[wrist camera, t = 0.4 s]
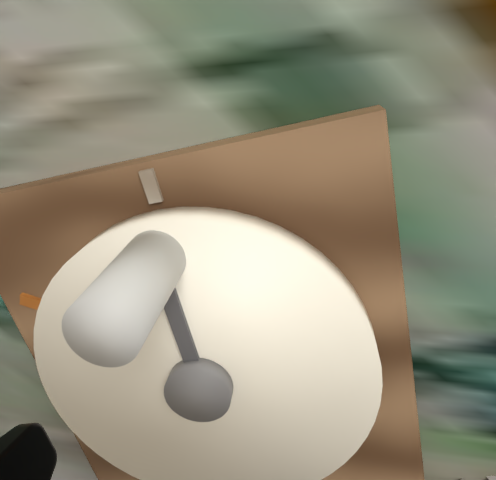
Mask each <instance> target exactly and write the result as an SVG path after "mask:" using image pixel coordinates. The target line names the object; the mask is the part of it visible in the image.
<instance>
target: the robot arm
mask: <svg viewBox="0 0 496 480" xmlns="http://www.w3.org/2000/svg"><path fill="white" fill-rule="evenodd" d="M56 461H57V453H56V450H55V448H54V446H53V444H52V442H51V441H50V439H49V437H48V435H47V433H46V432H45V430H44V428H43V427H42V425H40V424H39V423H28V424H21V425H18V426H16V427H14V428H13V429H11V430H10V431H9V432H7V433H6V434H4V435H3V436H2V437H0V480H51V477H52V474H53V471H54V468H55V465H56Z"/></svg>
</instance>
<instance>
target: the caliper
mask: <svg viewBox="0 0 496 480" xmlns="http://www.w3.org/2000/svg"><path fill="white" fill-rule="evenodd" d="M486 477H487V480H496V476H486ZM461 480H463V479H461Z"/></svg>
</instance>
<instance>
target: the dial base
mask: <svg viewBox="0 0 496 480" xmlns="http://www.w3.org/2000/svg"><path fill="white" fill-rule="evenodd" d="M175 207H212V208H219V209H227V210H233V211H237V212H240V213H244V214H248V215H252V216H256V217H258V218H261V219H263V220H266V221H268V222H271V223H274V224H276V225H279V226H281V227H283V228H284V229H286V230H288V231H290V232H292V233H294V234H295V235H297V236H299V237H301V238H302V239H304V240H305V241H307V242H308V243H309V244H311V245H312V246H314V247H315V248H316V249H318V250H319V251H320V252H322V253H323V254H324V255H325V256H326V257H327V258H328V259H329V260H330V261H331V262H332V263H333V264H334V265H336V266H337V267H338V268H339V269H340V271H341V272H342V273H343V274H344V276H345V277H346V278H347V279H348V281H349V282H350V283H351V284H352V286H353V287H354V289H355V291H356V292H357V294H358V296H359V297H360V299H361V301H362V302H363V304H364V306H365V309H366V311H367V314H368V316H369V319H370V321H371V324H372V328H373V332H374V336H375V340H376V344H377V348H378V353H379V357H380V361H381V366H382V383H383V387H382V395H381V403H380V407H379V410H378V414H377V417H376V420H375V423H374V425H373V427H372V429H371V431H370V433H369V435H368V437H367V438H366V440H365V441H364V442H363V444H362V445H361V446H360V448H359V449H358V450H357V452H356V453H355V454H354V455H353V456H352V457H351V458H350V459H349V460H348V461H347V462H346V463H345V464H344V465H342V466H341V467H340V468H338V469H337V470H336V471H334V472H333V473H332V474H330V475H329V476H327V477H325V478H323V479H322V480H424V471H423V461H422V452H421V442H420V433H419V423H418V414H417V404H416V394H415V385H414V375H413V366H412V356H411V347H410V337H409V328H408V318H407V309H406V299H405V289H404V280H403V270H402V261H401V251H400V242H399V232H398V223H397V213H396V204H395V194H394V185H393V175H392V165H391V156H390V146H389V137H388V127H387V118H386V109H384V108H383V107H381V106H380V105H376V106H372V107H367V108H363V109H358V110H354V111H349V112H345V113H340V114H336V115H331V116H327V117H322V118H318V119H313V120H308V121H304V122H299V123H295V124H290V125H286V126H281V127H277V128H272V129H268V130H263V131H259V132H254V133H250V134H245V135H241V136H236V137H232V138H227V139H223V140H218V141H214V142H209V143H205V144H200V145H196V146H191V147H186V148H182V149H177V150H173V151H168V152H164V153H159V154H155V155H150V156H146V157H141V158H137V159H132V160H128V161H123V162H119V163H114V164H110V165H105V166H101V167H96V168H92V169H87V170H83V171H78V172H74V173H69V174H65V175H60V176H55V177H51V178H46V179H42V180H37V181H33V182H28V183H24V184H19V185H15V186H10V187H6V188H1V189H0V295H1V297H2V299H3V300H4V302H5V304H6V306H7V308H8V310H9V312H10V314H11V316H12V317H13V319H14V321H15V323H16V325H17V327H18V329H19V331H20V333H21V334H22V336H23V338H24V340H25V342H26V344H27V346H28V348H29V350H30V352H31V353H32V355H33V357H34V359H35V354H34V325H35V319H36V313H37V310H38V307H39V304H40V301H41V299H42V296H43V294H44V292H45V290H46V289H47V287H48V285H49V283H50V282H51V280H52V278H53V277H54V276H55V275H56V274H57V272H58V271H59V270H60V269H61V267H62V266H63V265H64V264H65V263H66V262H67V261H68V260H69V259H71V258H72V257H73V256H74V255H75V254H76V253H77V252H79V251H80V250H81V249H82V248H83V247H84V246H85V245H87V244H88V243H89V242H90V241H91V240H93V239H94V238H95V237H96V236H97V235H98V234H100V233H102V232H103V231H105V230H107V229H108V228H110V227H111V226H113V225H115V224H117V223H119V222H121V221H124V220H126V219H128V218H131V217H133V216H136V215H139V214H143V213H147V212H151V211H154V210H158V209H166V208H175ZM35 361H36V360H35ZM73 433H74V432H73ZM74 435H75V437H76V438H77V440H78V442H79V444H80V446H81V448H82V450H83V452H84V454H85V455H86V457H87V459H88V461H89V463H90V465H91V467H92V469H93V471H94V472H95V474H96V476H97V478H98V480H140V479H137V478H135V477H133V476H131V475H129V474H127V473H126V472H124V471H122V470H120V469H119V468H117V467H115V466H113V465H112V464H111V463H109V462H108V461H106V460H105V459H103V458H102V457H101V456H99V455H98V454H96V453H95V452H94V451H93V450H92V449H91V448H89V447H88V446H87V445H86V444H85V443H83V442H82V441H81V440H80V438H79V437H78V436H77V435H76V434H75V433H74Z"/></svg>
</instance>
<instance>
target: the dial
mask: <svg viewBox="0 0 496 480" xmlns="http://www.w3.org/2000/svg"><path fill="white" fill-rule="evenodd" d="M34 354H35V360H36V366H37V369H38V373H39V376H40V379H41V382H42V384H43V387H44V389H45V391H46V393H47V395H48V398H49V399H50V401H51V403H52V404H53V406H54V408H55V409H56V411H57V412H58V414H59V415H60V417H61V418H62V419H63V420H64V422H65V423H66V424H67V426H68V427H69V428H70V429H71V430H72V431H73V432H74V433H75V434H76V435H77V436H78V437H79V438H80V440H81V441H82V442H83V443H85V444H86V445H87V446H88V447H89V448H91V449H92V450H93V451H94V452H95V453H96V454H98V455H99V456H101V457H102V458H103V459H105V460H106V461H108V462H109V463H111V464H112V465H113V466H115V467H117V468H119V469H120V470H122V471H124V472H126V473H127V474H129V475H131V476H133V477H135V478H137V479H140V480H322V479H323V478H325V477H327V476H329V475H330V474H332V473H333V472H334V471H336V470H337V469H338V468H340V467H341V466H342V465H344V464H345V463H346V462H347V461H348V460H349V459H350V458H351V457H352V456H353V455H354V454H355V453H356V452H357V450H358V449H359V448H360V446H361V445H362V444H363V442H364V441H365V440H366V438H367V437H368V435H369V433H370V431H371V429H372V427H373V425H374V423H375V420H376V417H377V414H378V410H379V407H380V403H381V395H382V387H383V383H382V366H381V361H380V357H379V353H378V348H377V344H376V340H375V336H374V332H373V328H372V324H371V321H370V319H369V316H368V314H367V311H366V309H365V306H364V304H363V302H362V301H361V299H360V297H359V296H358V294H357V292H356V291H355V289H354V287H353V286H352V284H351V283H350V282H349V281H348V279H347V278H346V277H345V276H344V274H343V273H342V272H341V271H340V269H339V268H338V267H337V266H336V265H334V264H333V263H332V262H331V261H330V260H329V259H328V258H327V257H326V256H325V255H324V254H323V253H322V252H320V251H319V250H318V249H316V248H315V247H314V246H312V245H311V244H309V243H308V242H307V241H305V240H304V239H302V238H301V237H299V236H297V235H295V234H294V233H292V232H290V231H288V230H286V229H284V228H283V227H281V226H279V225H276V224H274V223H271V222H268V221H266V220H263V219H261V218H258V217H256V216H252V215H248V214H244V213H240V212H237V211H233V210H227V209H219V208H212V207H175V208H166V209H158V210H154V211H151V212H147V213H143V214H139V215H136V216H133V217H131V218H128V219H126V220H124V221H121V222H119V223H117V224H115V225H113V226H111V227H110V228H108V229H107V230H105V231H103V232H102V233H100V234H98V235H97V236H96V237H95V238H94V239H93V240H91V241H90V242H89V243H88V244H87V245H85V246H84V247H83V248H82V249H81V250H80V251H79V252H77V253H76V254H75V255H74V256H73V257H72V258H71V259H69V260H68V261H67V262H66V263H65V264H64V265H63V266H62V267H61V269H60V270H59V271H58V272H57V274H56V275H55V276H54V277H53V278H52V280H51V282H50V283H49V285H48V287H47V289H46V290H45V292H44V294H43V296H42V299H41V301H40V304H39V307H38V310H37V313H36V319H35V325H34Z"/></svg>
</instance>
